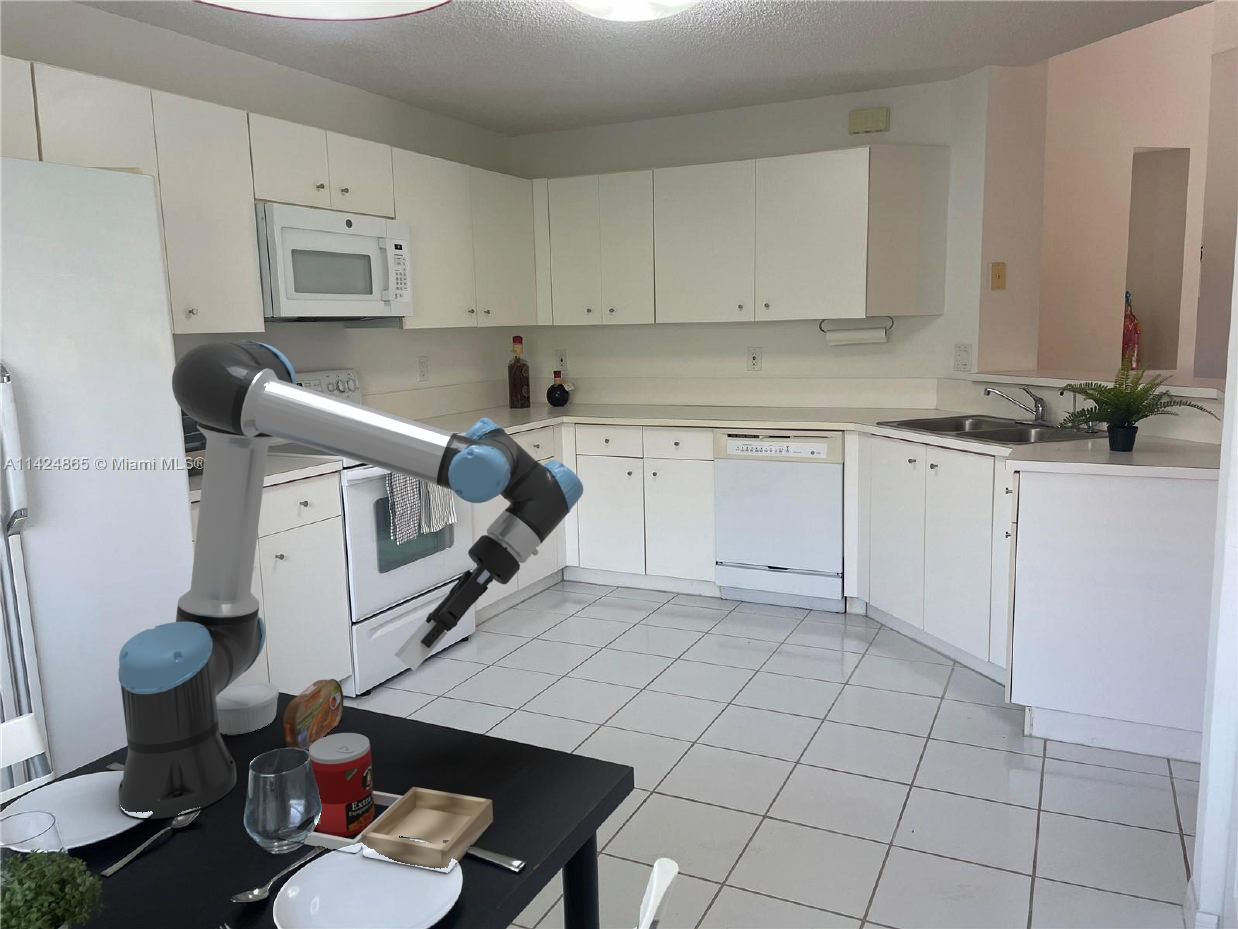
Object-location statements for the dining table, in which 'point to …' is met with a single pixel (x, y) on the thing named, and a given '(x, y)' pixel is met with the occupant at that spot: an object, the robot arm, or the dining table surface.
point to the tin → (313, 713)
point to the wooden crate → (429, 827)
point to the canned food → (343, 783)
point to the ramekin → (246, 707)
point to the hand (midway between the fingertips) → (403, 662)
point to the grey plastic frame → (340, 842)
